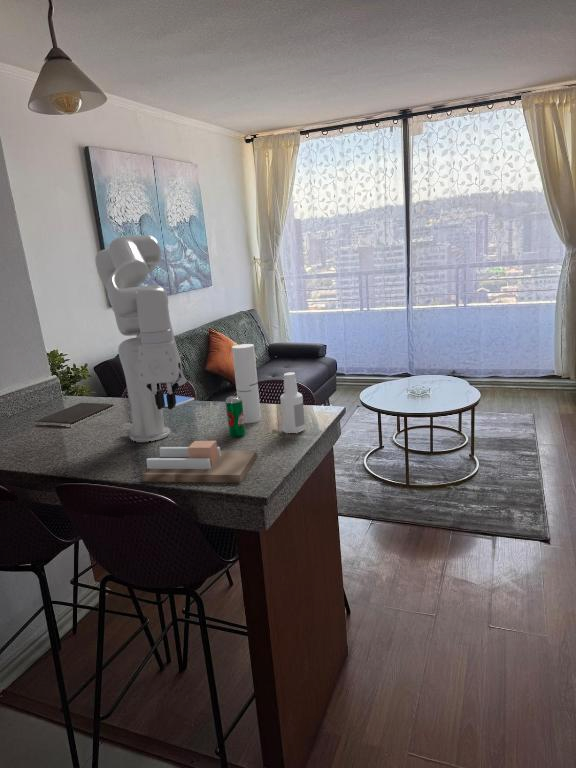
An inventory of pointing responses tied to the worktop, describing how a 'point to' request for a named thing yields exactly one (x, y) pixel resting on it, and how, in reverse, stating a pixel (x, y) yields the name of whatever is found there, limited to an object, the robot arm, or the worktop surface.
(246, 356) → the cylindrical container
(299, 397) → the white bottle
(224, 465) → the board
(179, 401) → the tablet computer
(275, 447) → the worktop surface
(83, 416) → the hardcover book
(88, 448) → the worktop surface
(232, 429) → the soda can
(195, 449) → the block
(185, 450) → the channel
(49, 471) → the worktop surface
